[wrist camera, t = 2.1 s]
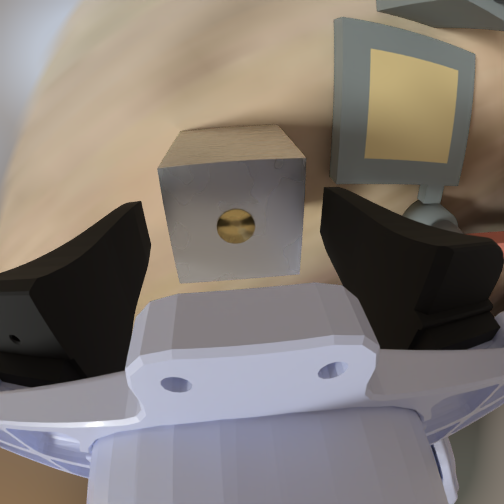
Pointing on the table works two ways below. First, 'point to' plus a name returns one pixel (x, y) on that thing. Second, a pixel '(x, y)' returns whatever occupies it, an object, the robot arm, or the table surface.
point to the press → (406, 99)
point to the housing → (234, 203)
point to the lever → (499, 237)
